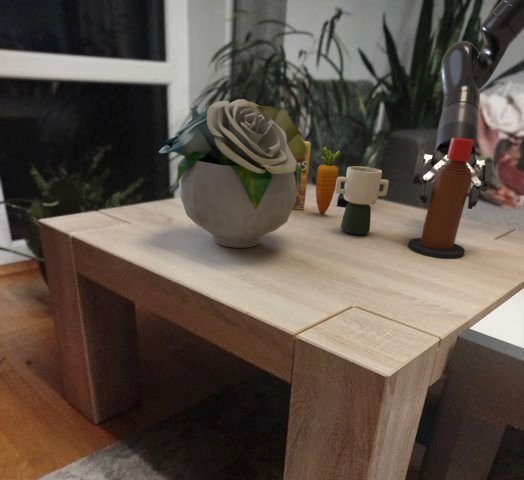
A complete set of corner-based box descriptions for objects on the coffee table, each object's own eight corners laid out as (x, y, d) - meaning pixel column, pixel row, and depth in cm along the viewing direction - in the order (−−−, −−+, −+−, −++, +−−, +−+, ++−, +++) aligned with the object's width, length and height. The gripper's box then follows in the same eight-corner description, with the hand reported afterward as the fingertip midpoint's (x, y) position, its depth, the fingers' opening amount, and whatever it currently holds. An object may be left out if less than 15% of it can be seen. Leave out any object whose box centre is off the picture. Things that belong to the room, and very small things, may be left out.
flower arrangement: (236, 275, 80) (245, 104, 68) (142, 236, 94) (136, 90, 82) (328, 247, 96) (348, 106, 84) (236, 218, 110) (242, 94, 99)
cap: (462, 158, 95) (467, 138, 93) (472, 162, 91) (477, 141, 89) (442, 157, 94) (447, 137, 92) (452, 160, 91) (457, 139, 89)
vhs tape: (367, 198, 140) (368, 191, 139) (366, 209, 128) (367, 201, 127) (340, 195, 141) (341, 188, 140) (336, 206, 129) (338, 198, 128)
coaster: (449, 242, 106) (450, 238, 106) (474, 259, 96) (475, 255, 96) (399, 240, 104) (400, 236, 104) (419, 257, 95) (420, 253, 95)
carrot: (335, 215, 120) (345, 148, 112) (326, 219, 116) (336, 150, 109) (317, 211, 122) (325, 145, 115) (307, 215, 118) (315, 147, 111)
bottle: (444, 241, 104) (470, 140, 94) (458, 250, 98) (487, 144, 89) (415, 240, 103) (438, 138, 93) (427, 249, 97) (453, 142, 88)
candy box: (268, 209, 120) (274, 140, 113) (265, 205, 124) (270, 138, 117) (304, 210, 122) (312, 142, 115) (300, 206, 126) (307, 140, 118)
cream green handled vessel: (374, 229, 111) (386, 167, 105) (383, 238, 105) (396, 174, 98) (326, 226, 110) (334, 164, 104) (332, 236, 104) (341, 170, 97)
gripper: (424, 116, 97) (413, 187, 93) (501, 123, 95) (493, 196, 90) (417, 143, 104) (406, 210, 100) (488, 150, 102) (480, 219, 98)
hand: (447, 203), depth 95 cm, fingers open, 8 cm apart
